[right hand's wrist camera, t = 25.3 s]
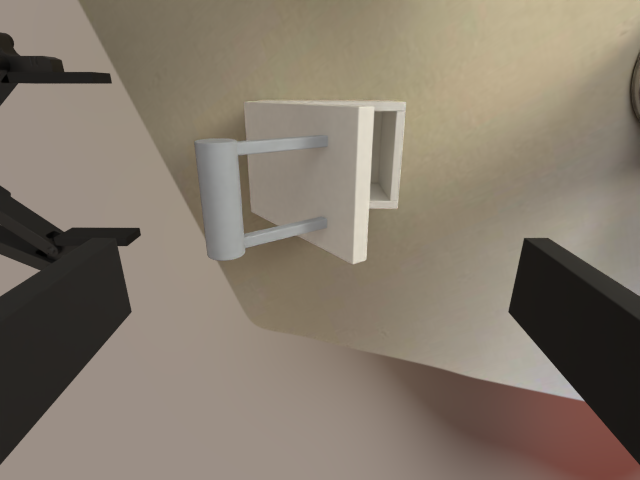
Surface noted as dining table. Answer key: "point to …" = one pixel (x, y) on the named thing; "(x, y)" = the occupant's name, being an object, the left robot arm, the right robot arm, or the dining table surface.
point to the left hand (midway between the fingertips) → (119, 163)
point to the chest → (379, 147)
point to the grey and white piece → (291, 179)
